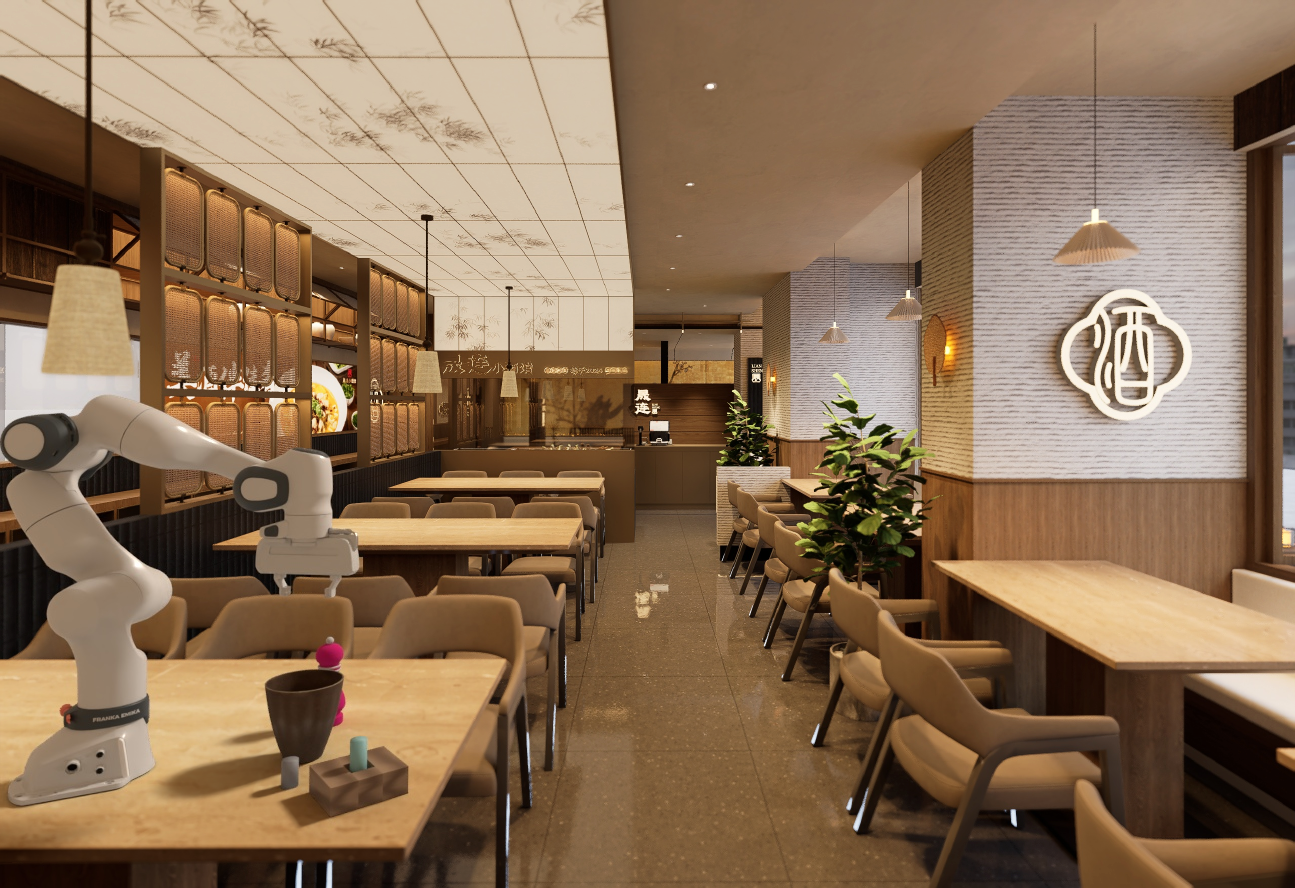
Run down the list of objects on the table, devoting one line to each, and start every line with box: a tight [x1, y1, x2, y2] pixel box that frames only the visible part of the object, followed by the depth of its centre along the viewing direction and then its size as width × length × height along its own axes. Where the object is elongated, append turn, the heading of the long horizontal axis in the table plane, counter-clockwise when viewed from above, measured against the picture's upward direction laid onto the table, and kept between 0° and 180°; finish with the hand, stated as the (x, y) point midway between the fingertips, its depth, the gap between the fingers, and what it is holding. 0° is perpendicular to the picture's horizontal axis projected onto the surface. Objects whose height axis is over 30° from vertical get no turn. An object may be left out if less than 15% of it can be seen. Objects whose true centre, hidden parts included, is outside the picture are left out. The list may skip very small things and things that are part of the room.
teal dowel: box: [349, 735, 368, 773], centre depth 137 cm, size 3×3×10 cm
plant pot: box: [264, 668, 345, 765], centre depth 152 cm, size 15×15×16 cm
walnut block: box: [308, 745, 409, 818], centre depth 137 cm, size 14×12×5 cm
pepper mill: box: [315, 636, 346, 727], centre depth 171 cm, size 7×7×20 cm
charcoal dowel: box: [280, 756, 300, 791], centre depth 139 cm, size 3×3×5 cm
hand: (307, 596), depth 149 cm, fingers open, 8 cm apart
